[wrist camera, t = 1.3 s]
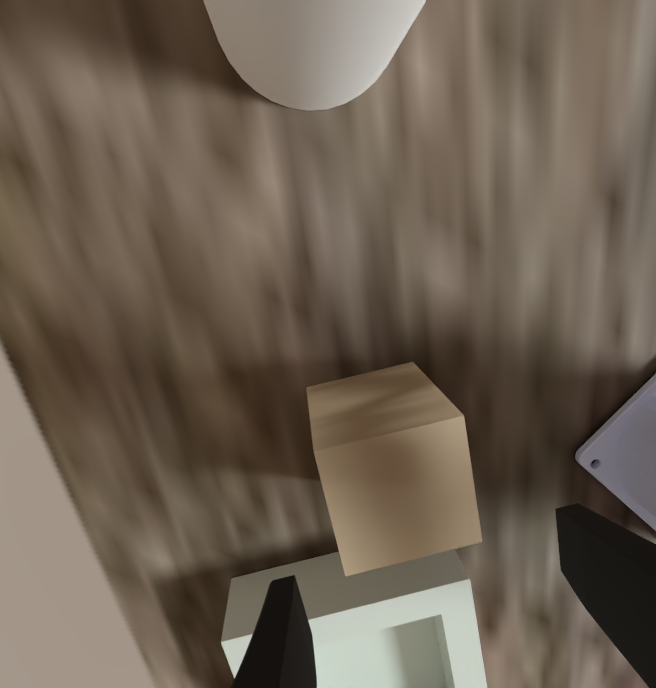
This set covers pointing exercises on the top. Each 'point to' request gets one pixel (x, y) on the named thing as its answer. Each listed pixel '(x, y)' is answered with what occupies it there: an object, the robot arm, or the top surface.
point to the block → (392, 467)
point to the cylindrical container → (311, 45)
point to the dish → (373, 622)
